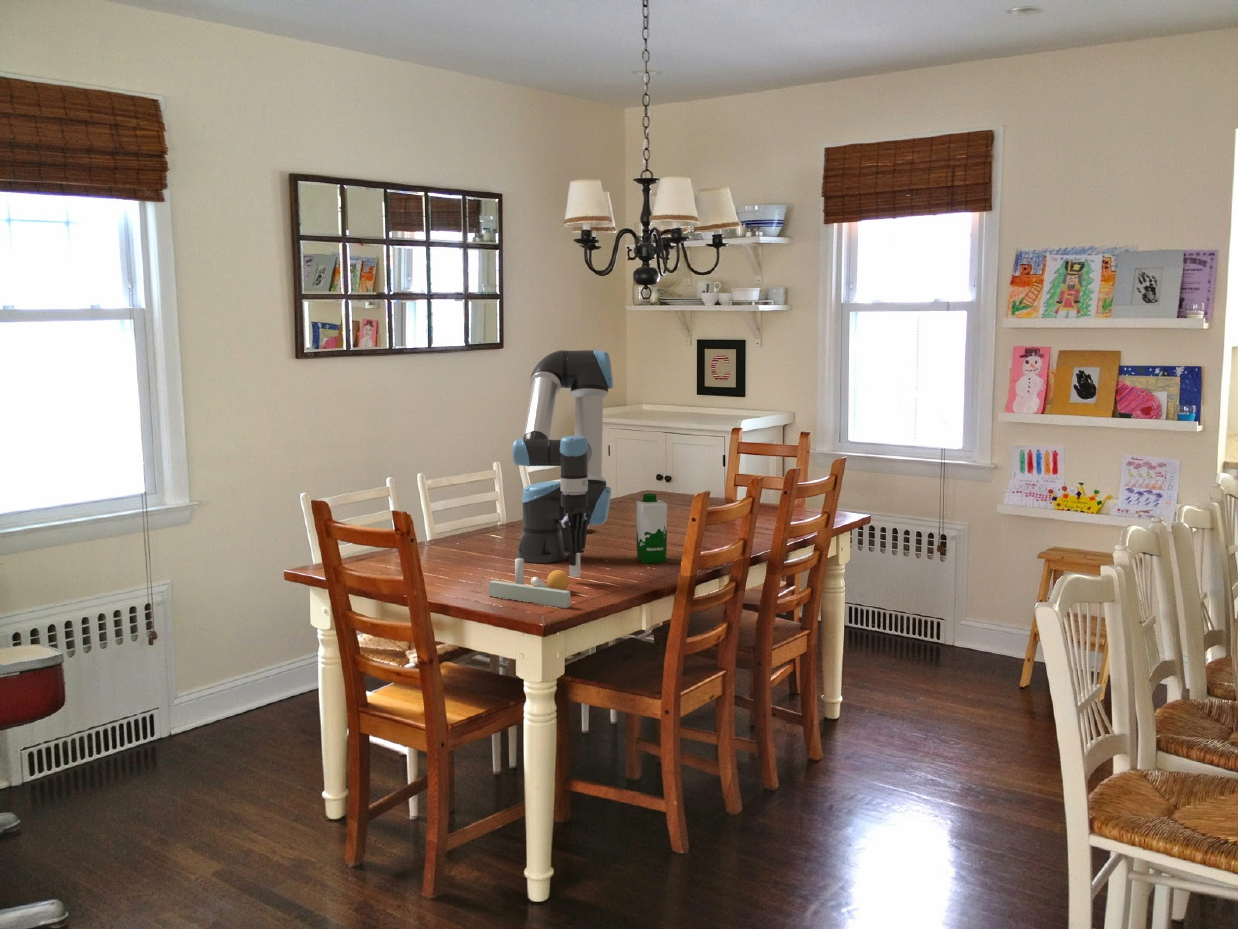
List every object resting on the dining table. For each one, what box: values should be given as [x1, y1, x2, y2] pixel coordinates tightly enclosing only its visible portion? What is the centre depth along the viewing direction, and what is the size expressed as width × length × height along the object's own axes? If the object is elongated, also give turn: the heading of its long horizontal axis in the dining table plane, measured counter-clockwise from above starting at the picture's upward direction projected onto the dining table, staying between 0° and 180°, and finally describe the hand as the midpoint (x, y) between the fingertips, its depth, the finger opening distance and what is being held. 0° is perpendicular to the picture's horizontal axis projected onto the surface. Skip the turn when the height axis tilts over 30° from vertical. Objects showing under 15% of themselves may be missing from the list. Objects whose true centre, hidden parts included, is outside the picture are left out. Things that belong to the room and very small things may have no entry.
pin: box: [530, 576, 550, 588], centre depth 290 cm, size 2×2×8 cm
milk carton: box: [635, 493, 668, 564], centre depth 332 cm, size 9×9×20 cm
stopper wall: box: [488, 580, 571, 609], centre depth 286 cm, size 24×2×4 cm, turn 61°
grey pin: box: [514, 557, 525, 585], centre depth 298 cm, size 2×2×8 cm
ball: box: [546, 569, 570, 591], centre depth 296 cm, size 6×6×6 cm
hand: (574, 576), depth 306 cm, fingers closed
